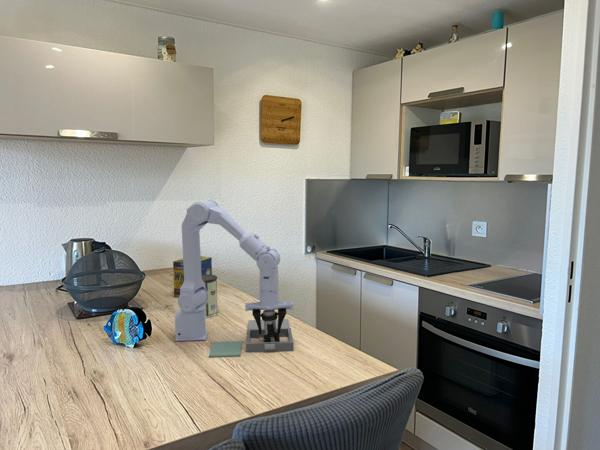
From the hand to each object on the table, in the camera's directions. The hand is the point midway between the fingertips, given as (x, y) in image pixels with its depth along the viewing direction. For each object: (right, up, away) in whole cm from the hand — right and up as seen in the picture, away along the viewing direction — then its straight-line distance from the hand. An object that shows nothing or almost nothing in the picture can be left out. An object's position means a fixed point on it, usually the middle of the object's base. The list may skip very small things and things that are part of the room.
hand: (269, 332), depth 141 cm
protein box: (-37, +3, +59) cm, 70 cm away
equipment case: (-1, -3, +6) cm, 7 cm away
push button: (0, -3, 0) cm, 3 cm away
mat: (-13, -4, -5) cm, 14 cm away
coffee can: (-27, 0, +30) cm, 40 cm away
